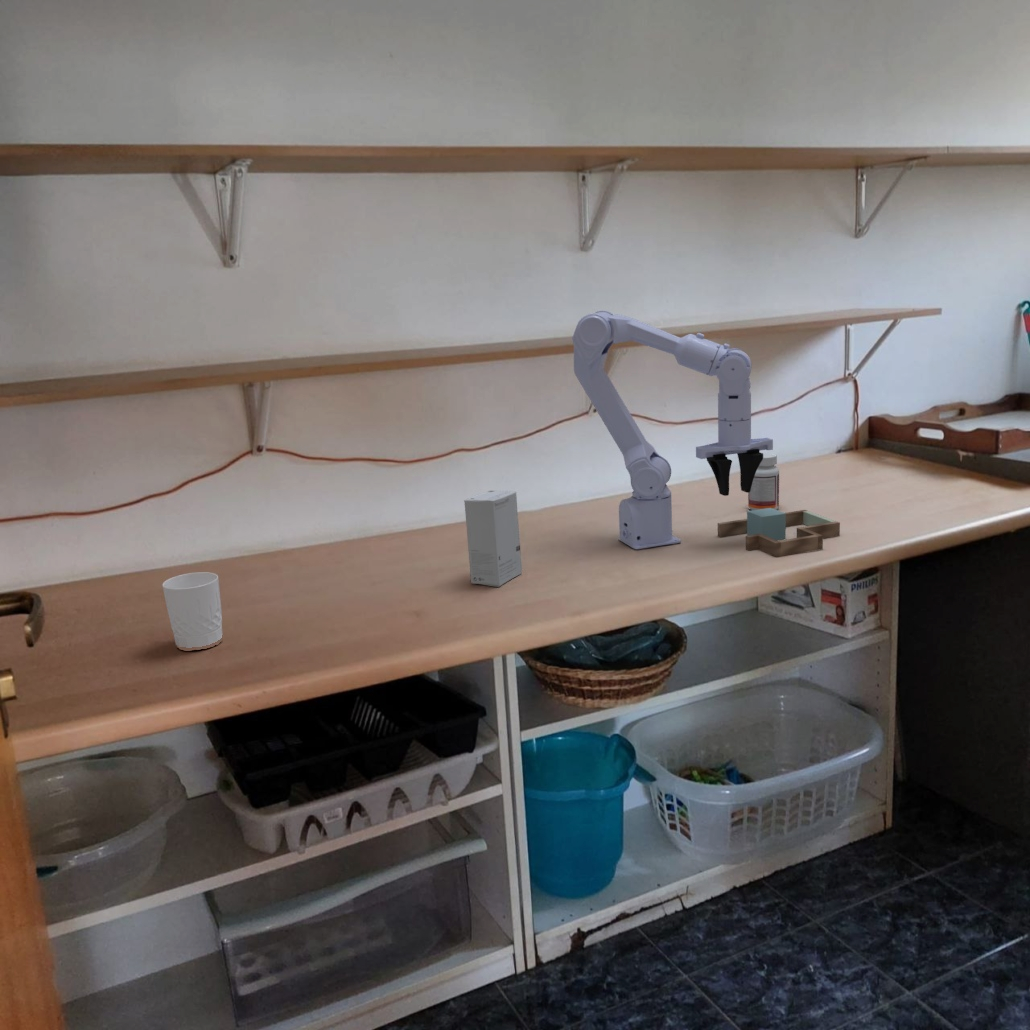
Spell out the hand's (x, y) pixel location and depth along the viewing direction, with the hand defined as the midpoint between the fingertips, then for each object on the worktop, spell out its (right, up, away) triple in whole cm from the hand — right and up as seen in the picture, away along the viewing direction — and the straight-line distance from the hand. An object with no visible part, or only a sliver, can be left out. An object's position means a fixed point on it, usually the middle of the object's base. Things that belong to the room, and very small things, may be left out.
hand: (734, 493), depth 176 cm
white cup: (-87, -23, -31) cm, 95 cm away
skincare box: (-43, -15, -9) cm, 47 cm away
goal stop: (+18, -7, +8) cm, 20 cm away
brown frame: (+10, -8, +2) cm, 13 cm away
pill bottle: (+12, -3, +25) cm, 27 cm away
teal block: (+7, -8, +4) cm, 12 cm away
